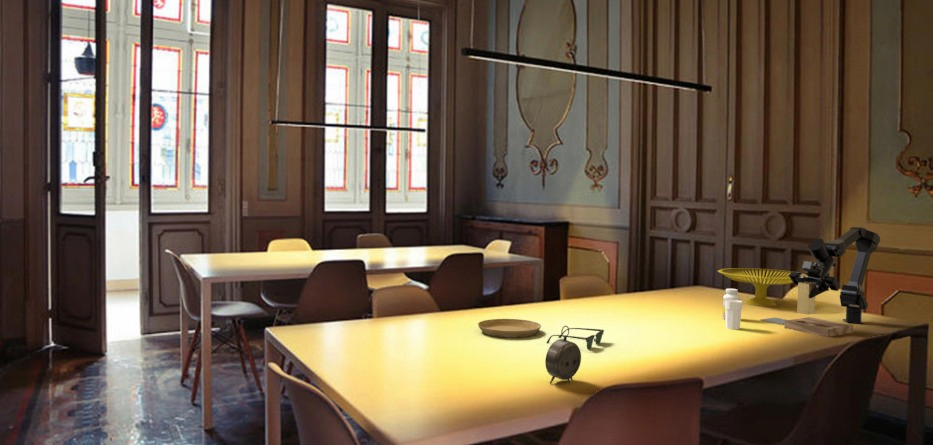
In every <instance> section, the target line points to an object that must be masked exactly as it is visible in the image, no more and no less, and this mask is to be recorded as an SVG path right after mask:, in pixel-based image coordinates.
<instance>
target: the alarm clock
mask: <svg viewBox="0 0 933 445" xmlns="http://www.w3.org/2000/svg"><path fill="white" fill-rule="evenodd" d="M564 328H567V329H568V330H567V334H565V335H564V334H562V333H563V332H564V331H563V330H564ZM569 328H570V327H569V326H568V325H564V326H562V328H561V331H560V333H561V334H562V338H559V339H557V340H555V341H554V342H553V343H552V344H551V345H550V346H549V348H548V349H547V352H546V354H545V355H546V356H545V359H544V360H545V369H546V372H547V373H548V374H549V376H551V380H550V381H549V384H553V381H554V380H555V378H556V379H559V380H562V381H566V380H567V383H568V384H569V385H570V384H571V381H570V379H571V380H572V379H573V377H574V376H575V375H576V373H577V372H578V371H579V369H580V366H581V362H582V352H581V349H580V346H578V345H577V343H575V342H573V341H570V340H567V339H568V337H567V336H569V334H570V329H569ZM561 334H560V335H561ZM563 335H564V336H563Z"/></svg>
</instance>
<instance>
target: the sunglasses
mask: <svg viewBox="0 0 933 445" xmlns="http://www.w3.org/2000/svg"><path fill="white" fill-rule="evenodd" d="M568 328H569V330H583V331H595V332H597V333H596V334H591V335H589V336H587V337H583V336H574V335H573V336H572V335H568V336H567V335H566V336H567V338H570V339H577V340H585V342H586V349H587V350H590V349H591V348H592V347H593V343H594V342H595V345H599V344H600V343H601V341H602V338H603V335H604V332H605V329H597V328H583V327H582V328H581V327H571V328H570V327H568ZM568 328H567V329H564V331H562V334H563V336H564V334H565V332H568ZM562 334H553V335H550V336H549V338H548V339H547V341H546V344H550V341H551V338H552V337H557V339H558V338H559V339H562V338H563V336H562Z"/></svg>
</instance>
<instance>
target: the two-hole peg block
mask: <svg viewBox="0 0 933 445" xmlns="http://www.w3.org/2000/svg"><path fill="white" fill-rule="evenodd" d="M783 328H784V329H786V328H789V329H788V330H791V329H793V330H792V331H796V330H797V331H796V332H802V333H807V334H812V335H816V336H820V337H826V338H830V337H835V336H841V335H846V334H847V335H848V334H853V333H854V332H853V331H854V324H851V323H846V322H845V323H844V322H838V321H834V320H828V319H822V318H816V317H810V316H809V317H801V318H795V319H786V321H785V324H783Z"/></svg>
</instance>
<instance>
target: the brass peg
mask: <svg viewBox="0 0 933 445" xmlns="http://www.w3.org/2000/svg"><path fill="white" fill-rule="evenodd" d="M815 285H816V283H810V282H799V283H798V285H797V305H796V306H797V307H796V308H797V309H796V312H797V313H798V314H802V315H814V314H816V312H815V311H816V296H815V297H813V298H810V297H809V296H810V294H811V292H812V290H813V289H814V287H815Z"/></svg>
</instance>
